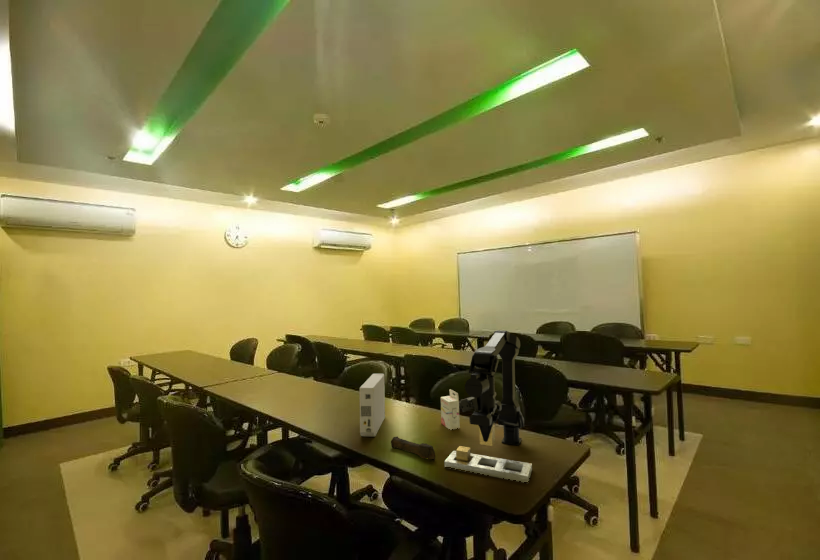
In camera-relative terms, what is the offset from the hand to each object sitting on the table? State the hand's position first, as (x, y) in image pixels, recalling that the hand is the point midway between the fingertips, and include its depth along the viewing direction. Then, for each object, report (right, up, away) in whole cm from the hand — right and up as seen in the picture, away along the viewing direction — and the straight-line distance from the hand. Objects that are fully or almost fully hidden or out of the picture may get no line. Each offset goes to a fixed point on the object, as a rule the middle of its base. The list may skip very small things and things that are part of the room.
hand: (487, 439), depth 119 cm
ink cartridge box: (-8, -12, +39) cm, 41 cm away
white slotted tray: (0, -9, -1) cm, 9 cm away
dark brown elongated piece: (-23, -11, +13) cm, 29 cm away
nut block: (0, -1, 0) cm, 1 cm away
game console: (-40, -12, +40) cm, 58 cm away
